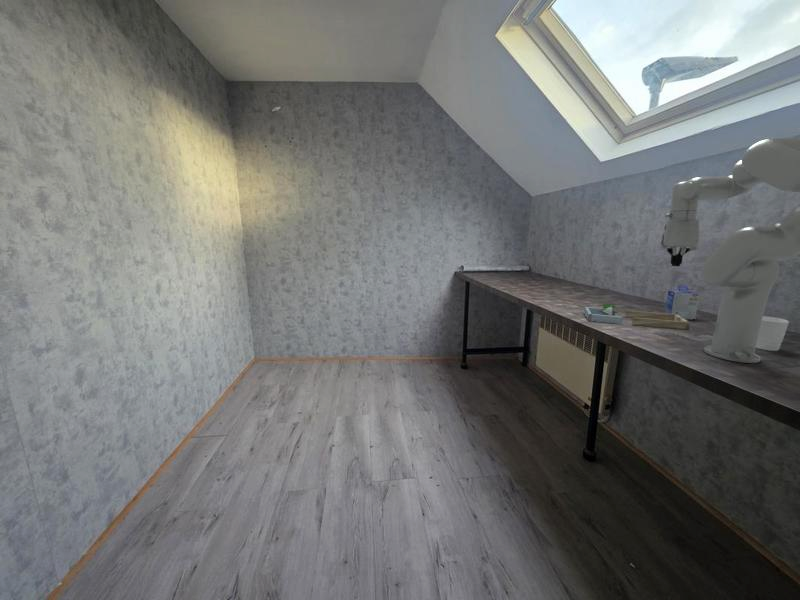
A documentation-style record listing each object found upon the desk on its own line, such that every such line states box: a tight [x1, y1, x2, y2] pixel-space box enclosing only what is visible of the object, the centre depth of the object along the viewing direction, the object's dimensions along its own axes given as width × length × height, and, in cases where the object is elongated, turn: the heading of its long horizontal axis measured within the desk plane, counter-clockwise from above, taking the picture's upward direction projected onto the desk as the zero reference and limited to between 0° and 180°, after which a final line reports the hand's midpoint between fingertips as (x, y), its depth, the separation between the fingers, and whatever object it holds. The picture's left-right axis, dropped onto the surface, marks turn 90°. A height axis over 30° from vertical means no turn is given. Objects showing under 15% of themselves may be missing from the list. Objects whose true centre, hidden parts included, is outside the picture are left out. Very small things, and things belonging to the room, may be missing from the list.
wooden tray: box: [624, 309, 691, 331], centre depth 138 cm, size 14×19×3 cm
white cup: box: [755, 315, 790, 352], centre depth 108 cm, size 8×8×10 cm
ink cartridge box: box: [664, 285, 701, 320], centre depth 145 cm, size 10×6×14 cm, turn 78°
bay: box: [583, 306, 623, 325], centre depth 146 cm, size 15×12×3 cm
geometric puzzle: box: [600, 304, 619, 316], centre depth 144 cm, size 7×7×8 cm
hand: (675, 265), depth 124 cm, fingers closed
